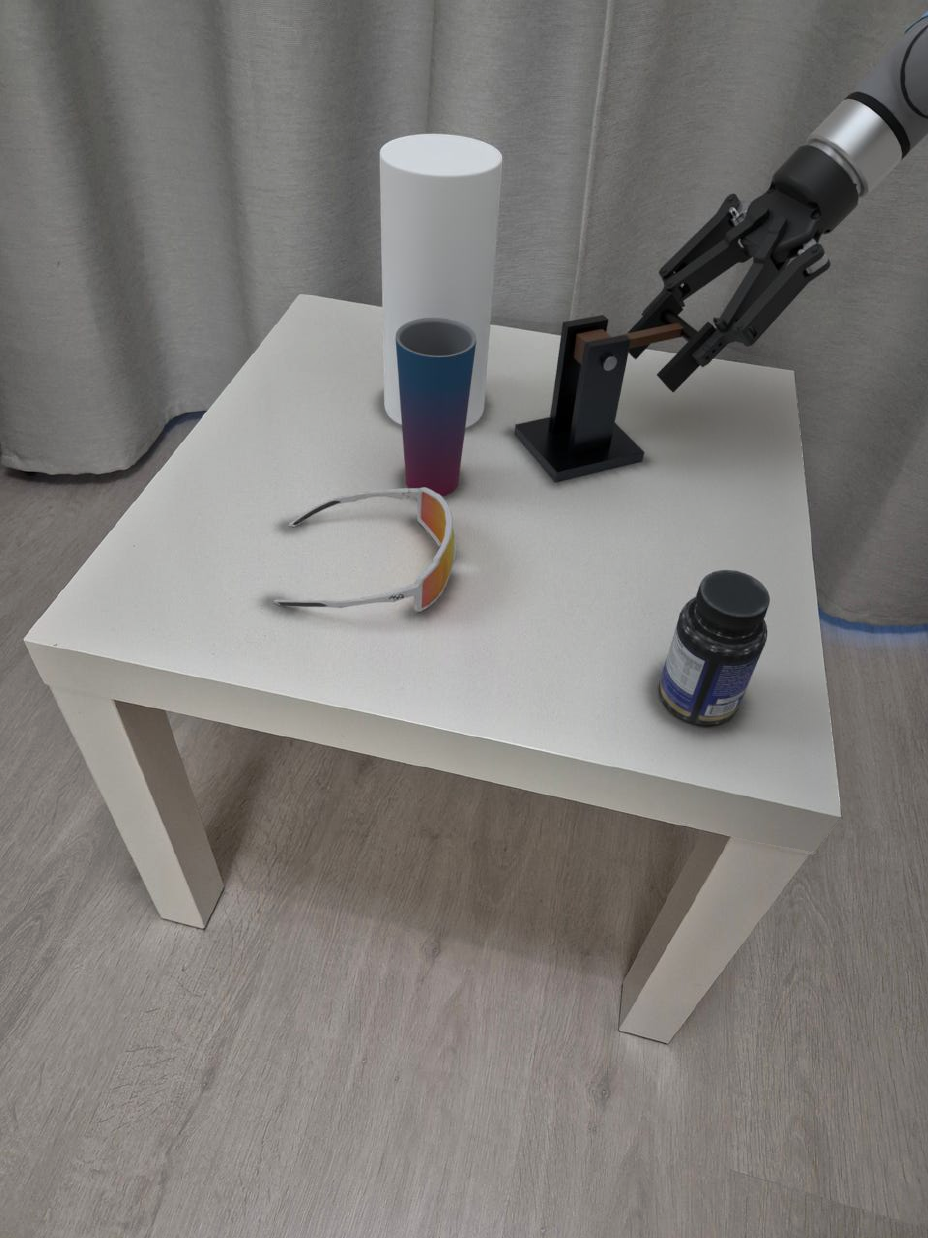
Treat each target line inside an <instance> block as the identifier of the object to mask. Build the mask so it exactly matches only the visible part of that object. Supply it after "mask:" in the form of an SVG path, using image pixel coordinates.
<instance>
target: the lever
mask: <svg viewBox="0 0 928 1238" xmlns="http://www.w3.org/2000/svg"><path fill="white" fill-rule="evenodd" d="M661 321H662V322H664V323H665V324H666V325H665V326H660V327H656V328H651V329H646V330H642V331H637V332H632V333H628V332H627V333H628V334H627V333H624V334H619V335H617V336H621V335H627V336H628V337H629V338H630V339H631V343H630V348H634V347H638V346H643V345H647V344H650V345H652V344H655V343H660V342H664V341H665V342H666V341H669V340H674V339H678V338H679V339H680V338H682V339H683V340H684V341H685V342H686V343H687V342H688V341H689V340H690V339H691V338H692V337H693V336H694V335H695V334H696V333H697V332H698V331H699V330H697V329H696V328H695V327H694V326H692V325H691V324H689V322H687V321H686V320H685V319H683V318H682V317H681V316H680V315H677V314H676V313H674V312H673V311H672V310H670V309H666V310H665V311H663V313H662V314H661ZM615 336H616V335H614V336H613V337H615ZM610 337H612V336H611V335H610V334H609V333H608V332H605V331H604V330H603V329H599V330H594V331H589V332H585V333H580V334H577V335H576V343H575V351H574V358H575V359H576V360H577V361H578V362H579V363H580V364H581V362H582V356H583V349H584V343H585V342H589V341H594V340H600V339H605V338H610Z"/></svg>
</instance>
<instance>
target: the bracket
mask: <svg viewBox="0 0 928 1238" xmlns="http://www.w3.org/2000/svg"><path fill="white" fill-rule="evenodd" d="M608 325H609V318H608V317H606V316H605V315H604V314H600V315H595V316H589V317H583V318H579V319H573V320H572V319H571V320H566V321H563V322H562V325H561V326H562V327H561V333H560V342H559V348H558V356H557V363H556V369H555V376H554V383H553V393H552V400H551V405H550V406H551V407H550V413H549V416H547V417H542V418H539V419H533V420H530V421H525V422H520V423H516V424H514V432H513V434H514V436H515V437H516V438H517V439H518V440H519V441H520V442H521V444H522V445H523V446H524V447H525V448H526V449H527V451H528V452H529V453H530V454H531V456H532V457H533V458H534V459H535V460H536V461H537V462H538V464H539V465H540V466H541V467H542V469H544V471H545V472H546V473H547V474H548V476H550V478H551V479H552V481H554V483H560V482H563V481H567V480H572V479H575V478H581V477H584V476H589V475H593V474H597V473H600V472H605V471H608V470H613V469H617V468H620V467H625V466H629V465H633V464H638V463H641V462H643V460H644V455H645V451H644V450H643V449H642V448H641V447H640V446H639V445H638V443H636V442H635V441H634V440H633V438H631V437H630V435H628V434H627V433H626V432H625V431H624V430H623V429H622V427H620V426H619V425H618V424H617V423H616V419H617V414H618V409H619V405H620V404H619V403H620V397H621V393H622V389H623V382H624V377H625V373H626V367H627V363H628V362H627V361H628V358H629V348H630V343H631V339H630V338H629V337H628V336H627V335H623V334H620V335H621V336H618V335H614V336H615V337H614V336H611V337H610V338H605V339H600V340H594V341H589V342H585V343H584V349H583V356H582V362H581V364H580V363H579V362H578V361H577V360H576V359H575V358H574V351H575V343H576V335H577V334H580V333H585V332H589V331H594V330H599V329H603V330H604V331H605V332H607V331H608ZM607 333H608V332H607Z"/></svg>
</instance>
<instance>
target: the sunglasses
mask: <svg viewBox="0 0 928 1238" xmlns="http://www.w3.org/2000/svg"><path fill="white" fill-rule="evenodd" d="M377 497H380V498H381V497H386V498H393V499H398V500H405V499H411V500H416V506H417V507H416V508H417V512H416V513H417V514H416V520H417V523H419V524H420V525H421V526H422V528H424V529H425V530H426V532H427V533H428V535H430V537H432V538H433V540H434V541H435V544H437V546H438V548H437V552H436V554H435V555H434V556H433V558H432V562H431V563H430V564H429V566H427V568H426V569H425V570H424V571H423V572H422V573H421V574H420V575H419V576H418V577H417V578H416V579H415V581H414V582H413V583H411V584H408V585H405V586H402V587H399V588H395V589H393V590H389V591H386V592H383V593H379V594H375V595H369V596H364V597H360V598H351V599H341V600H340V599H339V600H335V599H274V600H273V603H275V604H276V605H278V606H281V607H292V608H293V607H294V608H296V607H297V608H330V609H331V608H335V609H344V608H349V607H354V606H361V605H367V604H379V603H396V602H399V601H401V600H404V599H407V598H411V597H413V611H414V612H416V613H420V612H421V613H422V612H423V611H425V610H427V609H428V608H429V607H431V606H432V605H433V604H434V603H435V602H437V600H438V599H439V597H440V596H441V595H442V593H443V592H444V590H445V588H446V587H447V584H448V582H449V580H450V577H451V574H452V572H453V567H454V564H455V560H456V557H457V549H458V543H457V541H455V534H454V526H453V525H454V518H453V515H452V510H451V508H450V506H449V504H448V502H447V501H446V500H445V498H444V496H441V495H440V494H439V493H438V494H437V493H435V492H434V491H432V490H430V489H428V488H426V487H423V488H408V487H407V488H406V487H403V488H401V487H400V488H388V489H379V490H378V489H377V490H369V491H364V492H359V493H352V494H345V495H339V496H336V497H333V498H330V499H328V500H326V501H323V502H321V503H319V504H317V505H315V506H314V507H312V508H310V509H308V510H307V511H305V512H304V513H302V514H301V515H299V516H298V517H296V518H295V519H294V520H292V521H291V522H289V524H288V526H289V527H291V528H295V527H297V526H299V525H300V524H302V523H303V522H305V521H306V520H308V519H310V518H311V517H313V516H315V515H316V514H319V513H320V512H322V511H325V510H327V509H329V508H331V507H334V506H337V505H342V504H346V503H347V504H348V503H354V502H359V501H361V500H365V499H371V498H377Z"/></svg>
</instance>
